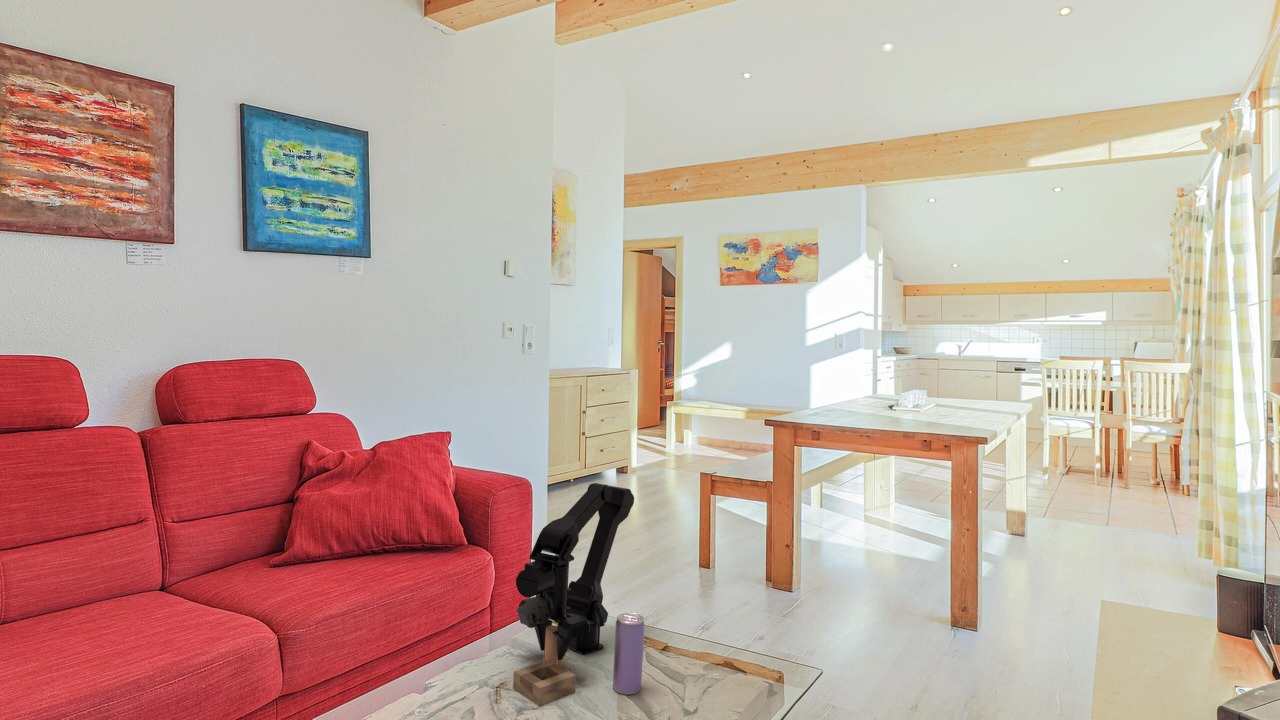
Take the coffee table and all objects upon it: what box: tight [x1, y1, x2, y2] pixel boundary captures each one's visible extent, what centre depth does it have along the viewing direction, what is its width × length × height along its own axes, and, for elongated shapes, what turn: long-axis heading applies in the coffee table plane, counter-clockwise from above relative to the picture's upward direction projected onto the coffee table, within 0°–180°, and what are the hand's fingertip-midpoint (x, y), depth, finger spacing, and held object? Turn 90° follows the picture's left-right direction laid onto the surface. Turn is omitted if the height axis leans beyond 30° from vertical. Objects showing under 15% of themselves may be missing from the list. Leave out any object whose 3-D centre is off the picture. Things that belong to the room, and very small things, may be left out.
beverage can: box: [612, 612, 645, 696], centre depth 151 cm, size 6×6×15 cm
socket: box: [512, 660, 576, 706], centre depth 149 cm, size 9×9×4 cm
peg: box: [543, 624, 559, 665], centre depth 159 cm, size 3×3×9 cm
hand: (551, 655), depth 159 cm, fingers open, 6 cm apart
